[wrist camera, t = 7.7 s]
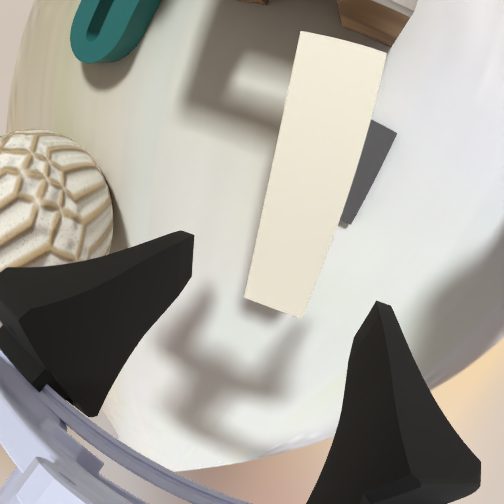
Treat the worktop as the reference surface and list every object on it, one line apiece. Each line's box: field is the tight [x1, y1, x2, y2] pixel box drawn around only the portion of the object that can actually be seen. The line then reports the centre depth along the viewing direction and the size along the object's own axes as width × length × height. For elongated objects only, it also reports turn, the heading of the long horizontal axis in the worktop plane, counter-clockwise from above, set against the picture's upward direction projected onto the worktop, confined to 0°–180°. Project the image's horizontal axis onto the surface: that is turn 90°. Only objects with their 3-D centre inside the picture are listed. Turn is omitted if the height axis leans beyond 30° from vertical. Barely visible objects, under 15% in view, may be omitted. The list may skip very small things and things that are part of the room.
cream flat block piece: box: [244, 31, 387, 318], centre depth 13 cm, size 3×12×6 cm, turn 168°
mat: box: [340, 120, 397, 224], centre depth 15 cm, size 5×6×1 cm
